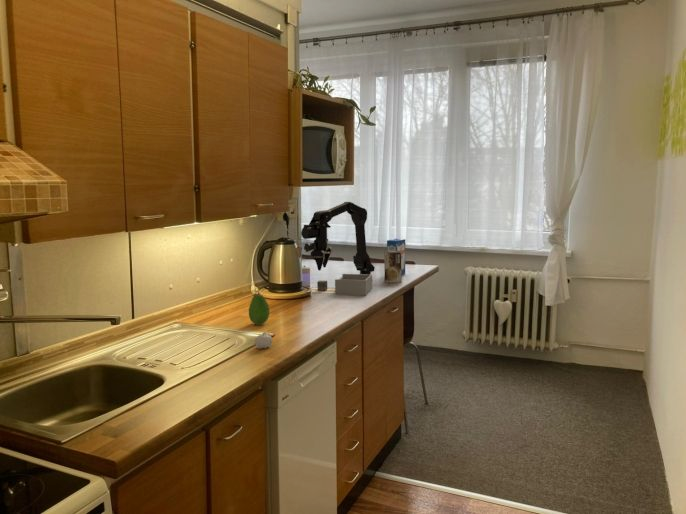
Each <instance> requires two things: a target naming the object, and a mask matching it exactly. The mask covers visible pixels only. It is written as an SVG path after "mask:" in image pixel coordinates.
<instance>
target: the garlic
mask: <svg viewBox="0 0 686 514" xmlns="http://www.w3.org/2000/svg"><path fill="white" fill-rule="evenodd" d="M254 344H255V346H256V348H258V349H260V350H263V349H262V348H265V349H268V348H269V347H271V345H272V344H273V337H272V336H271V335H270V334H269V335H268V334H267V331H264V332H263V333H261V334H259V335H258V336H256V337H255V338H254ZM267 347H268V348H267Z"/></svg>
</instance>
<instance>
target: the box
mask: <svg viewBox="0 0 686 514" xmlns="http://www.w3.org/2000/svg"><path fill="white" fill-rule="evenodd" d="M334 288H335V293H334V294H335V295H339V296H342V295H344V296H345V295H346V296H367V295H368V294H369V293H370V292H371V290H372V289H373V274H371V275H368V274H360V273H358V274H356V273H342V275H341V277H339V278H338V279H337V278H335V279H334Z"/></svg>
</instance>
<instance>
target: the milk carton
mask: <svg viewBox="0 0 686 514" xmlns="http://www.w3.org/2000/svg"><path fill="white" fill-rule="evenodd" d="M386 251H401V271H402V276H404V275H406V239H405V238H392V239H388V240H386ZM403 274H404V275H403Z"/></svg>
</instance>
